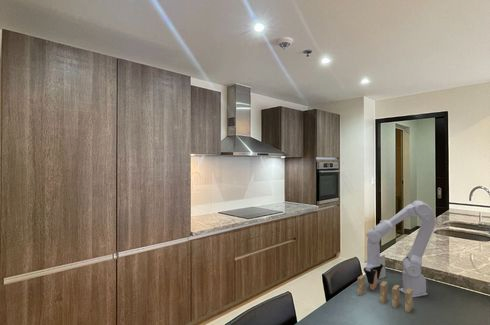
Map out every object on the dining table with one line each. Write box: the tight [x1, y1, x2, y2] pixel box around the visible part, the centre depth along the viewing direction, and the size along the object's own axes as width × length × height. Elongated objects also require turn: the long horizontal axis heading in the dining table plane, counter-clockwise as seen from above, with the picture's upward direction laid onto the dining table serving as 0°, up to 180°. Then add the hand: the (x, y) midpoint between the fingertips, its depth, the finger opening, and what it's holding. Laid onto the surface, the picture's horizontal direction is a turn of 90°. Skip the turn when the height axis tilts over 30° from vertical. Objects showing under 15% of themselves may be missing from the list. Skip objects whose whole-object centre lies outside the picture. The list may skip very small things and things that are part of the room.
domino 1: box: [357, 274, 366, 297], centre depth 128 cm, size 2×5×8 cm, turn 134°
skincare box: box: [372, 253, 386, 280], centre depth 146 cm, size 6×4×12 cm
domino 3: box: [379, 280, 389, 305], centre depth 121 cm, size 2×5×8 cm, turn 135°
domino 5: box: [404, 288, 414, 313], centre depth 114 cm, size 2×5×8 cm, turn 134°
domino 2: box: [369, 270, 378, 291], centre depth 134 cm, size 2×5×8 cm, turn 134°
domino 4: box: [391, 284, 401, 309], centre depth 118 cm, size 2×5×8 cm, turn 134°
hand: (373, 281), depth 134 cm, fingers open, 7 cm apart
